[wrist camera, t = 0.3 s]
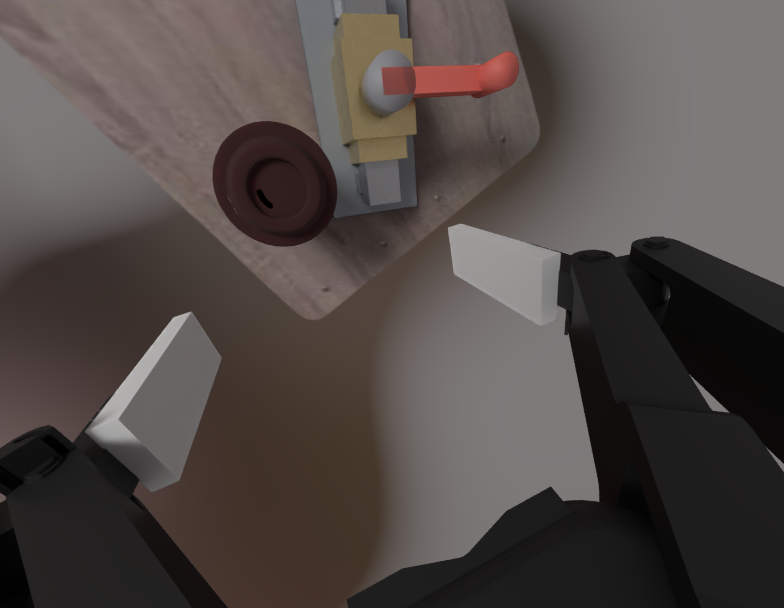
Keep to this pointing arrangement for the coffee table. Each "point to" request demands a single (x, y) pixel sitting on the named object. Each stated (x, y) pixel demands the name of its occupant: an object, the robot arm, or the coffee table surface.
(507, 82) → the lever
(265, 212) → the coffee cup
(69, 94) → the coffee table surface
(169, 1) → the coffee table surface
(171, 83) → the coffee table surface
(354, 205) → the mount board
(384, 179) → the pipe valve
